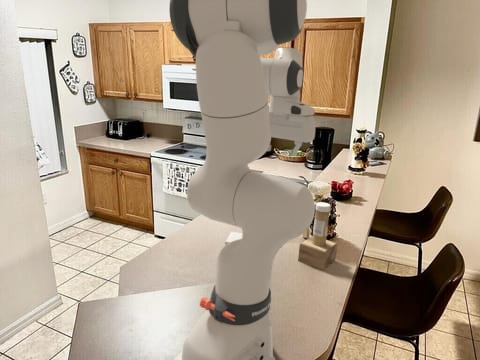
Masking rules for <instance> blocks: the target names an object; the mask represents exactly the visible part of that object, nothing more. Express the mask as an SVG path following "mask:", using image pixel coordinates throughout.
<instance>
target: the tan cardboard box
mask: <svg viewBox="0 0 480 360" xmlns="http://www.w3.org/2000/svg"><path fill="white" fill-rule="evenodd" d="M312 240H313V235H312V236H310V237H309V238H307V239H306V240H304V241H302V242H301V243H299V246H298V247H299V248H298V256H297V257H298V258H297V261H298V262H300V263H303V264H305V265H308V266H310V267H313V268H316V269H318V270H321V271H325V270H326V269H327V268H328V267H329V266H330V265H332V264H333V263H334V262H336V258H337V250H338V243H337V242H335V241H330V240H327V239H326V244H325V245H323V246H318V245H315V244H313V243H312Z"/></svg>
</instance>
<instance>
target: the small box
mask: <svg viewBox="0 0 480 360" xmlns="http://www.w3.org/2000/svg"><path fill="white" fill-rule="evenodd" d="M242 235H243V232H236V231H230V233H229V235H228V236H227V238H226V240H225V242H224V246H225V245H226V244H228V243H230V242H232V241H235V240H238V239H242Z"/></svg>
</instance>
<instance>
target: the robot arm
mask: <svg viewBox="0 0 480 360" xmlns="http://www.w3.org/2000/svg"><path fill="white" fill-rule="evenodd" d="M307 9H308V1H307V0H169V19H170V25H171V27H172V30H173V32H174V35H175V36H176V38H177V40H178V41H179V42H180V43H181V45H183V47H184V48H185V49H187V50H188V51H189V52H190V54H191V55H192V56H193V57H194V58H195V76H196V77H195V80H196V81H195V82H196V92H197V97H198V104H199V109H200V115H201V119H202V125H203V130H204V137H205V144H206V153H205V154H206V156H205V160H204V162H203V165H202V166H201V167H199V168H197V170H195V172H194V173H193V174H192V175H191V177H190V179H189V181H188V183H187V187H186V188H187V189H186V196H187V202H188V204H189V206H190V208H191V209H192V210H193V211H195V212H196V213H198V214H199V215H202V216H204V217H205V218H207V219H208V220H209V219H210V220H212V221H215V222H218V223H222V224H226V225H229V226H234V227H236V228H237V227H238V228H239V229H241V233H243V235H242V239H238V240H235V241H232V242H230V243H228V244H226V245H225V244H224V245H223V246H222V247H221V249H220V250H219V252H218V253H217V255H216V263H215V264H216V265H215V284H214V286H213V289H212V291H211V295H210V298H209V299H208V297H206V296H202V298H201V299H200V300H199V304H198V305H199V307H200V308H202V309H205V312H204V313H203V314H202V315H201V317H200V318H199V320H198V321H197V323H195V326H193V328H192V329H191V331H189V333H188V335H187V336H186V337H185V340H184V342H183V346H182V350H181V351H179V353H178V354H177V355H176V356H175V357H174V358H172V360H276V358H275V356H274V351H273V349H274V348H273V347H274V343H273V342H274V340H273V339H274V338H273V337H274V333H273V326H272V322H271V318H270V314H269V312H270V310H271V303H272V291H271V288H270V286H271V277H272V269H273V265H274V261H275V258H276V256H277V254H278V252H279V250H280V249H281V248H282V247H283V246H284V245H286V244H287V243H288V242H290V241H292V240H294V239H297V238H298V237H300V236H301V235H303V234H304V233H305V232H306V231H307V230H308V229H309V227H310V226H311V224H312V222H313V221H314V218H315V213H316V209H315V208H316V204H315V199H314V196H313V194H312V192H311V190H310V188H309V187H308V186H306V185H304V184H302V183H300V182H297V181H295V180H292V179H291V178H287V177H286V176H285V177H284V176H279V175H273V174H269V173H262V172H257V171H255V170H251V169H250V167H249V164H251V163H253V162H255V161H256V160H259V159H260V158H261V157H262V156H263V155H265V154H266V153H267V152H271V151H272V144H271V141H272V138H274V139H275V138H276V139H282V140H289V141H294V145H295V146H294V147H293V149H292V148H291V149H290V153H289V154H290V156H292V157H297V156H298V155H299V154H298V151H299V149H300V148H301V147H302V146H303V143H306V144H307V143H312V142H313V140H315V137H316V120H315V118H314V116H313V115H315V112H316V110H315V108H314V107H313V106H311V105H309V104H306V103H304V102H302V101H301V93H300V92H301V91H300V90H301V89H302V88H303V85H304V74H305V71H304V70H305V69H303V54H302V51H300V50H299V49H297V48H293V47H287V46H286V47H279V46H281V45H284V44H286V43H289V42H292V41H294V40H296V38H297V37H298V36H299V35H300V34H301V33H302V30H303V26H304V23H305V20H306V17H307V12H308V11H307ZM274 51H275V52H274ZM272 52H274V56H273V58H269V57H260V56H265V55H269V54H271V53H272ZM268 96H269V97H268ZM268 99H269V100H268Z"/></svg>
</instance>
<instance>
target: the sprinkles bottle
mask: <svg viewBox="0 0 480 360" xmlns="http://www.w3.org/2000/svg"><path fill="white" fill-rule="evenodd" d="M330 211H331V204H330V203H327V202H323V201H322V202H320V201H319V202H316V204H315V212H314V219H313V221H314V223H313V230H312V236H313V240H312V243H313V244H315V245H318V246H323V245H325V244H326V240H327V235H328V228H329V217H330Z"/></svg>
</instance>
